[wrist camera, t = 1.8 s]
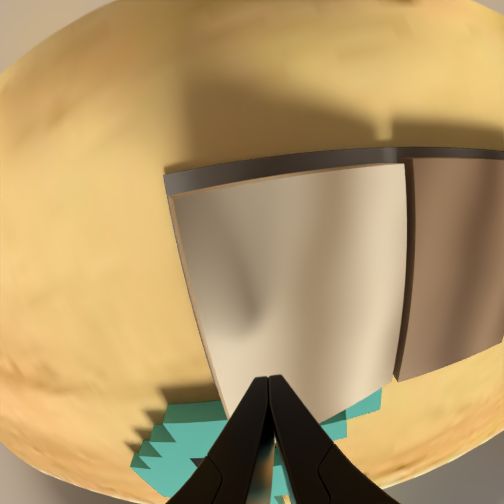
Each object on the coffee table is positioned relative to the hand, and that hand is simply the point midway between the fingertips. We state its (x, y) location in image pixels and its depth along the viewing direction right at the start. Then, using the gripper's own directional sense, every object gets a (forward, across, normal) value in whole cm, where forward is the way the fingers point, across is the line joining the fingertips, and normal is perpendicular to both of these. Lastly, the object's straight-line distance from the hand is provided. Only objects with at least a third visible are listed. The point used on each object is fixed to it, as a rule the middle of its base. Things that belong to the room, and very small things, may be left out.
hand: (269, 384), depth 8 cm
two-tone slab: (+6, -7, 0) cm, 9 cm away
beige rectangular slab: (+4, -2, 0) cm, 5 cm away
